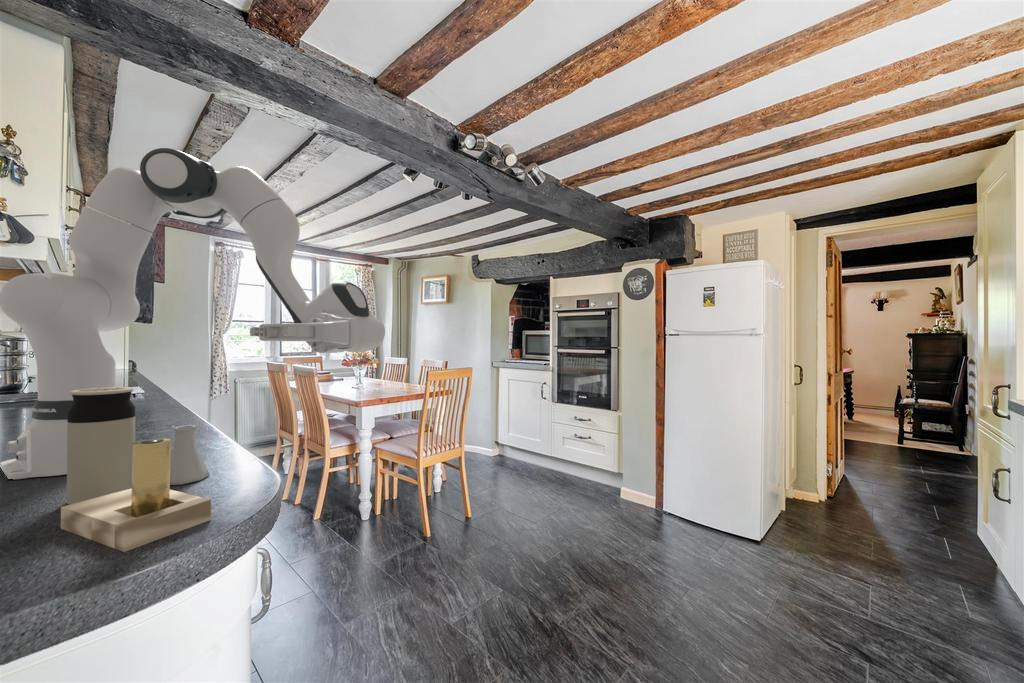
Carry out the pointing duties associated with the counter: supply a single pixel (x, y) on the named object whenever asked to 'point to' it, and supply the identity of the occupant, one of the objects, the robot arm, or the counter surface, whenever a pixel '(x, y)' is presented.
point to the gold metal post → (150, 476)
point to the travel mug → (99, 442)
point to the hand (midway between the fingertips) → (268, 331)
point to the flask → (186, 458)
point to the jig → (132, 519)
